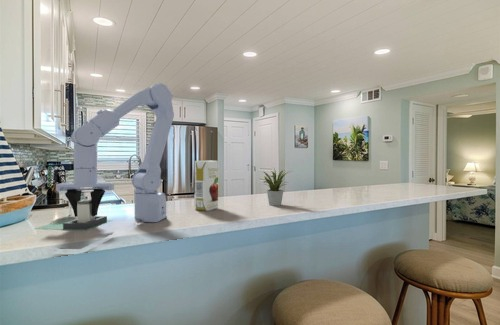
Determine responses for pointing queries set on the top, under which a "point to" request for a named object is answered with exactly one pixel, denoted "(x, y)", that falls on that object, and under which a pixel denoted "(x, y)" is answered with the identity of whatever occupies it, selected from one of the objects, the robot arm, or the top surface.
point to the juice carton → (206, 185)
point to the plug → (84, 211)
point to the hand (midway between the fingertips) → (86, 215)
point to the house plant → (275, 188)
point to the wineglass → (62, 194)
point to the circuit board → (76, 224)
